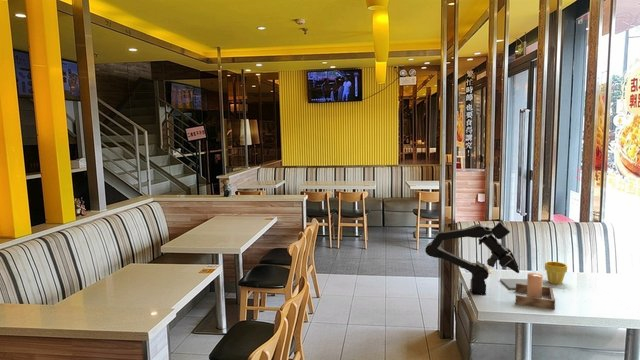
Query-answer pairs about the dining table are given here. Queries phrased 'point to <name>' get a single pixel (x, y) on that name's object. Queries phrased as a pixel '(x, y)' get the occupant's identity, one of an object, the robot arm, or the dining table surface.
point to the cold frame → (535, 301)
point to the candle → (534, 285)
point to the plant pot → (555, 271)
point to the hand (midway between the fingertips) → (518, 270)
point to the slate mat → (513, 283)
